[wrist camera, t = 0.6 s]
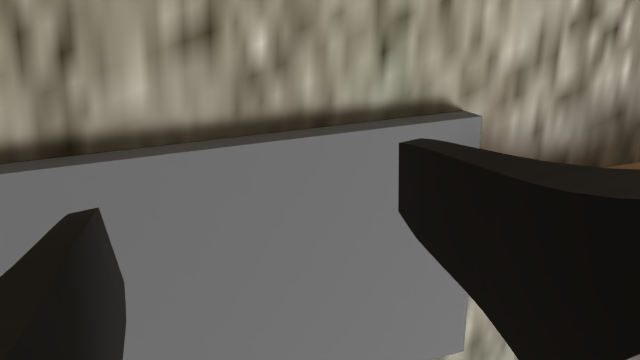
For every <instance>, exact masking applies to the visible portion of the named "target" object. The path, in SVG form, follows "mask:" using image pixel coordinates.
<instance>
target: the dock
mask: <svg viewBox="0 0 640 360" xmlns="http://www.w3.org/2000/svg"><path fill="white" fill-rule="evenodd" d="M481 123H482V116H479V115H476V114H473V113H470V112H467V111H457V112H449V113H440V114H431V115H423V116H414V117H405V118H397V119H388V120H379V121H371V122H362V123H353V124H345V125H336V126H327V127H319V128H310V129H301V130H293V131H284V132H275V133H267V134H258V135H249V136H241V137H232V138H223V139H215V140H206V141H197V142H189V143H180V144H171V145H163V146H154V147H145V148H137V149H128V150H119V151H111V152H102V153H93V154H85V155H76V156H67V157H59V158H50V159H41V160H33V161H24V162H15V163H7V164H0V277H1V276H2V275H3V274H4V273H5V272H6V271H7V270H9V269H10V268H11V267H12V266H13V265H14V264H15V263H16V262H17V261H18V260H19V259H20V258H21V257H22V256H24V255H25V254H26V253H27V252H28V251H29V250H30V249H31V248H32V247H33V246H34V245H35V244H36V243H37V242H38V241H39V240H40V239H41V238H42V237H43V236H44V235H45V234H46V233H47V232H48V231H49V230H50V229H51V228H52V227H53V226H54V225H56V224H57V223H58V222H59V221H60V220H61V219H62V218H63V217H65V216H66V215H67V214H70V213H75V212H79V211H84V210H89V209H93V208H98V207H99V210H100V213H101V216H102V218H103V221H104V224H105V227H106V230H107V233H108V236H109V239H110V242H111V245H112V248H113V251H114V253H115V256H116V259H117V262H118V265H119V268H120V271H121V274H122V277H123V280H124V284H125V300H126V331H125V342H124V353H123V360H432V359H436V358H440V357H443V356H447V355H451V354H455V353H458V352H462V351H464V341H465V328H466V316H467V303H468V293H467V292H466V291H465V290H464V289H463V288H462V287H461V286H460V285H459V284H458V283H457V282H456V281H455V280H454V279H453V277H452V276H451V275H450V274H449V273H448V272H447V271H446V270H445V269H444V268H443V267H442V266H441V265H440V264H439V263H438V262H437V260H436V259H435V258H434V257H433V256H432V255H431V254H430V253H429V252H428V251H427V250H426V249H425V247H424V246H423V245H422V244H421V243H420V242H419V241H418V240H417V238H416V237H415V236H414V234H413V233H412V231H411V230H410V228H409V227H408V226H407V224H406V222H405V221H404V219H403V218H402V216H401V215H400V213H399V212H398V191H399V143H400V142H405V141H410V140H414V139H419V138H425V139H434V140H440V141H446V142H451V143H456V144H460V145H465V146H470V147H474V148H479V149H480V136H481Z"/></svg>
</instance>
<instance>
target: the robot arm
mask: <svg viewBox="0 0 640 360" xmlns="http://www.w3.org/2000/svg"><path fill="white" fill-rule="evenodd" d="M398 212H399V213H400V215H401V216H402V218H403V219H404V221H405V222H406V224H407V226H408V227H409V228H410V230H411V231H412V233H413V234H414V236H415V237H416V238H417V240H418V241H419V242H420V243H421V244H422V245H423V246H424V247H425V249H426V250H427V251H428V252H429V253H430V254H431V255H432V256H433V257H434V258H435V259H436V260H437V262H438V263H439V264H440V265H441V266H442V267H443V268H444V269H445V270H446V271H447V272H448V273H449V274H450V275H451V276H452V277H453V279H454V280H455V281H456V282H457V283H458V284H459V285H460V286H461V287H462V288H463V289H464V290H465V291H466V292H467V293H468V294H469V295H470V297H471V298H472V299H473V300H474V301H475V302H476V303H477V305H478V306H479V307H480V308H481V309H482V310H483V312H484V313H485V314H486V316H487V317H488V318H489V320H490V321H491V322H492V324H493V325H494V326H495V328H496V329H497V330H498V332H499V333H500V334H501V336H502V337H503V338H504V340H505V341H506V342H507V344H508V345H509V347H510V348H511V349H512V351H513V352H514V354H515V355H516V357H517V358H518V359H519V360H640V170H638V169H616V168H600V167H587V166H578V165H569V164H560V163H553V162H546V161H539V160H534V159H528V158H523V157H517V156H512V155H507V154H502V153H497V152H492V151H488V150H483V149H479V148H474V147H470V146H465V145H460V144H456V143H451V142H446V141H440V140H434V139H425V138H419V139H414V140H410V141H405V142H400V143H399V191H398ZM125 331H126V300H125V284H124V280H123V277H122V274H121V271H120V268H119V265H118V262H117V259H116V256H115V253H114V251H113V248H112V245H111V242H110V239H109V236H108V233H107V230H106V227H105V224H104V221H103V218H102V216H101V213H100V210H99V207H98V208H93V209H89V210H84V211H79V212H75V213H70V214H67V215H66V216H65V217H63V218H62V219H61V220H60V221H59V222H58V223H57V224H56V225H54V226H53V227H52V228H51V229H50V230H49V231H48V232H47V233H46V234H45V235H44V236H43V237H42V238H41V239H40V240H39V241H38V242H37V243H36V244H35V245H34V246H33V247H32V248H31V249H30V250H29V251H28V252H27V253H26V254H25V255H24V256H22V257H21V258H20V259H19V260H18V261H17V262H16V263H15V264H14V265H13V266H12V267H11V268H10V269H9V270H7V271H6V272H5V273H4V274H3V275H2V276H1V277H0V360H123V353H124V342H125Z"/></svg>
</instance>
